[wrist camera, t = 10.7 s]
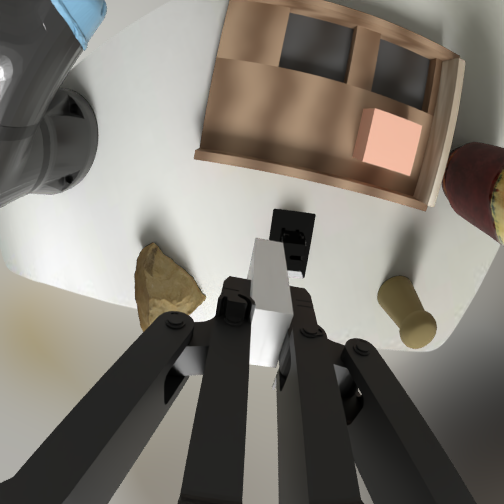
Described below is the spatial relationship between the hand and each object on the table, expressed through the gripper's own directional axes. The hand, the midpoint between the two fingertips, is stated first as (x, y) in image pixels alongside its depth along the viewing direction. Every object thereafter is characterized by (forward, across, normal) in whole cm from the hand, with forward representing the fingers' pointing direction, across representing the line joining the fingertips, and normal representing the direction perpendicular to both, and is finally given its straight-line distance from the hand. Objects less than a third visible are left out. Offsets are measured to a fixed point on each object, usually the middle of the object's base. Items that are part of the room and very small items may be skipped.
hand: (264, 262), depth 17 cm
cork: (+23, +23, -12) cm, 34 cm away
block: (+20, +12, +9) cm, 25 cm away
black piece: (+23, +5, -8) cm, 25 cm away
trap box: (+22, +6, +12) cm, 26 cm away
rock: (+23, -10, -15) cm, 29 cm away
